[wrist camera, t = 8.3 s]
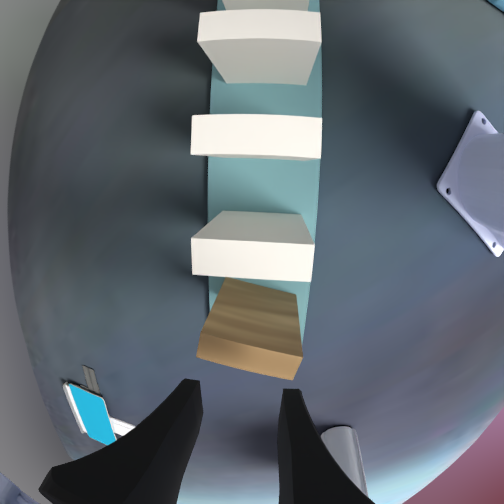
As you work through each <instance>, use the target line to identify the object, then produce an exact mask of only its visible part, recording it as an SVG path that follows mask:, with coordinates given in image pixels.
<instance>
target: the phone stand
mask: <svg viewBox="0 0 504 504" xmlns="http://www.w3.org/2000/svg"><path fill="white" fill-rule="evenodd" d="M82 366H83V365H82ZM88 369H89V371H88ZM83 370H84V374H85V378H86V382H87V386H88V387H85V386H83V385H81V387H80V386H77V385H75V384H73V383H72V384H69V385H68V382H66V383H64V385H63V389H64V391H65V394H66V397H67V399H68V402H69V404H70V407H71V409H72V412H73V414H74V417H75V419H76V421H77V424H78V426H79V428H80V430H81V432H82V434H83V432H87V433H88V435H89V436H90V437H91V438H93V439H95V440H97V441H99V442H102V443H104V444H106V445H109V444H111V443H113V442H114V441H116V440H117V439H116V437H115V434H114V432H115V433H117V434H120V435H123V436H124V435H125V434H126V433H128V432H129V431H131V430H132V429H133V428H135V427H136V426H134V425H132V424H129V423H126V422H124V421H121V420H118V419H116V418H113V417H111V416H109V415H108V411H107V408H106V404H105V401H104V399H103V398H102V397H101V394H100V390H99V387H98V383H97V382H96V378H95V374H94V370H92V369H90V368H87V367H85V366H83ZM89 373H90V375H89ZM90 377H91V379H90Z"/></svg>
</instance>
